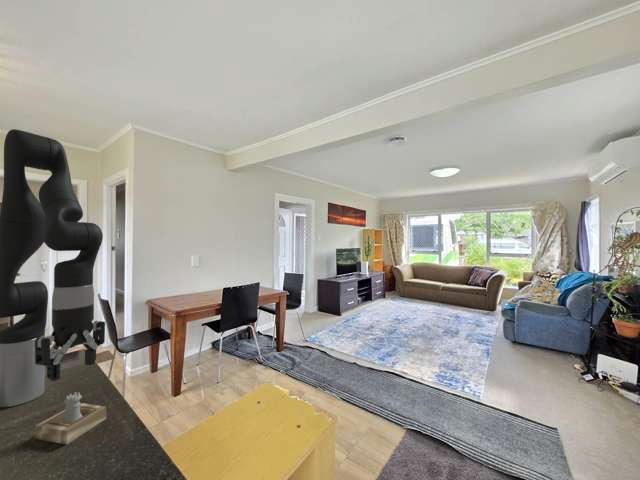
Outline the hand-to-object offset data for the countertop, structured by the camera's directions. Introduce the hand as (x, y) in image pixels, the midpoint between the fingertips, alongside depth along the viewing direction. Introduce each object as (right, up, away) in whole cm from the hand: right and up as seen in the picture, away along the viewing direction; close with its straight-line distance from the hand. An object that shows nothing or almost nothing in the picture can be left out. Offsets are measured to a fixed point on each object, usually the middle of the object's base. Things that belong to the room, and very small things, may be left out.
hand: (72, 371), depth 65 cm
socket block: (0, -14, 0) cm, 14 cm away
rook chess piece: (0, -14, 0) cm, 14 cm away
